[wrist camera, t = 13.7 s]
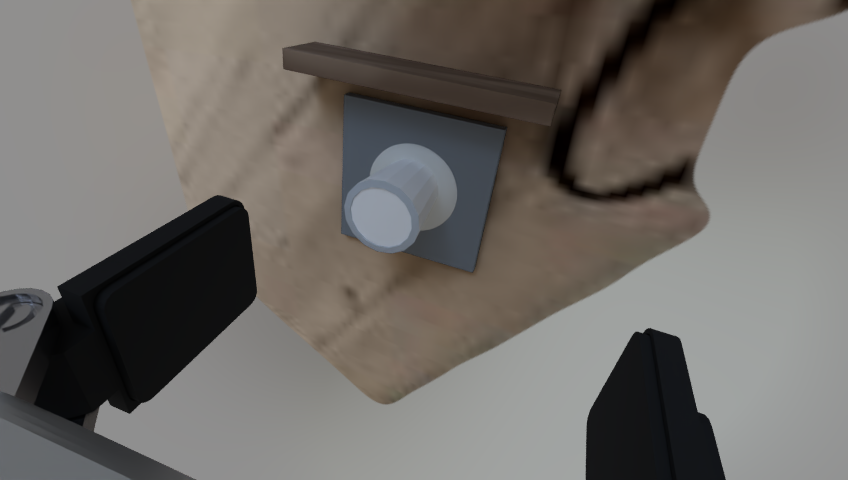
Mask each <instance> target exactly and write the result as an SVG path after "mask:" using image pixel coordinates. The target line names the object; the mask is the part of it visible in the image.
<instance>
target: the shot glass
mask: <svg viewBox="0 0 848 480" xmlns="http://www.w3.org/2000/svg"><path fill="white" fill-rule="evenodd" d="M436 197H437V182H436V180H435V178H434V175H433V173H432V172H431V171H430V170H429V169H428V168H427V167H426V166H425V165H424V164H422V163H420V162H418V161H416V160H411V159H401V160H398V161H395V162H393V163H391V164H390V165H388V166H386V167H384V168H383V169H381V170H379V171H378V172H376V173H374V174H373V175H371V176H369V177H368V178H366V179H364V180H362V181H361V182H359V183H357V184H356V185H355V186H354V187H353V188H352V189H351V190H350V191H349V193H348V194H347V198H346V201H345V205H344V209H345V216H346V221H347V223H348V225H349V227H350V229H351V231H352V233H353V234H354V235H355V236H356V237H357V238H358V239H359V240H360V241H361V242H362V243H363V244H364V245H366V246H368V247H370V248H372V249H374V250H376V251H379V252H385V253H396V252H400V251H404V250H405V249H407V248H408V247H409V246H410V245H412V244H413V243H414V242H415V240H416V238H417V236H418V234H419V232H420V230H421V228H422V226H423V224H424V222H425V220H426V218H427V216H428V214H429V212H430V210H431V208H432V206H433V204H434V202H435V200H436Z"/></svg>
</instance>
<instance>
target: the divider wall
mask: <svg viewBox="0 0 848 480" xmlns="http://www.w3.org/2000/svg"><path fill="white" fill-rule="evenodd" d="M282 49H283V68H284V69H285V70H290V71H295V72H299V73H304V74H309V75H313V76H318V77H323V78H327V79H332V80H337V81H341V82H346V83H351V84H355V85H360V86H365V87H369V88H374V89H378V90H383V91H388V92H392V93H397V94H402V95H406V96H411V97H416V98H420V99H425V100H430V101H434V102H439V103H444V104H448V105H453V106H458V107H462V108H467V109H472V110H476V111H481V112H485V113H490V114H495V115H499V116H504V117H509V118H513V119H518V120H523V121H527V122H532V123H537V124H541V125H546V126H551V123H552V119H553V116H554V113H555V110H556V107H557V103H558V99H559V96H560V92H561V90H558V89H553V88H548V87H543V86H538V85H533V84H528V83H523V82H518V81H513V80H507V79H502V78H497V77H492V76H487V75H482V74H477V73H472V72H467V71H461V70H456V69H451V68H446V67H441V66H436V65H431V64H426V63H421V62H416V61H410V60H405V59H400V58H395V57H390V56H385V55H380V54H375V53H370V52H365V51H359V50H354V49H349V48H344V47H339V46H334V45H329V44H324V43H319V42H312V43H307V44H302V45H297V46H292V47H286V48H282Z"/></svg>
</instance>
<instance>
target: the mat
mask: <svg viewBox="0 0 848 480" xmlns="http://www.w3.org/2000/svg"><path fill="white" fill-rule="evenodd" d="M506 130H507V127H503V126H499V125H494V124H490V123H485V122H481V121H476V120H472V119H467V118H463V117H458V116H454V115H449V114H444V113H440V112H435V111H431V110H426V109H422V108H417V107H413V106H408V105H404V104H399V103H394V102H390V101H385V100H381V99H376V98H372V97H367V96H363V95H358V94H354V93H347V94H345V95H344V126H343V176H342V227H341V234H345V235H348V236H351V237H355V238H357V237H356V236H355V235H354V234H353V233H352V231H351V229H350V227H349V225H348V223H347V221H346V216H345V209H344V205H345V201H346V198H347V194H348V193H349V191H350V190H351V189H352V188H353V187H354V186H355V185H356V184H357V183H359V182H361V181H362V180H364V179H366V178H368V177H369V176H371V175H373V174H374V173H376V172H378V171H379V170H381V169H383V168H384V167H386V166H388V165H390V164H391V163H393V162H395V161H398V160H401V159H411V160H416V161H418V162H420V163H422V164H424V165H425V166H426V167H427V168H428V169H429V170H430V171H431V172H432V173H433V175H434V178H435V180H436V182H437V197H436V200H435V202H434V204H433V206H432V208H431V210H430V212H429V214H428V216H427V218H426V220H425V222H424V224H423V226H422V228H421V230H420V232H419V234H418V236H417V238H416V240H415V242H414V243H413V244H412V245H410V246H409V247H408V248H407V249H405V250H404V251H402V252H405V253H408V254H412V255H415V256H418V257H422V258H425V259H429V260H432V261H435V262H439V263H442V264H445V265H449V266H452V267H455V268H459V269H462V270H465V271H469V272H472V273H473V271H474V269H475V266H476V261H477V257H478V253H479V248H480V244H481V240H482V235H483V231H484V226H485V222H486V218H487V213H488V209H489V205H490V200H491V196H492V191H493V187H494V183H495V178H496V174H497V170H498V165H499V161H500V156H501V152H502V148H503V143H504V139H505V135H506Z"/></svg>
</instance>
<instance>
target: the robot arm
mask: <svg viewBox="0 0 848 480" xmlns="http://www.w3.org/2000/svg"><path fill="white" fill-rule="evenodd" d="M58 290H59V292H60V294H61V296H62V298H60V299H58V300H57V301H55V302H54V301H53V299H52V297H51V296H50V294H48V293H47V292H45V291H43V290H39V289H32V288H26V289H14V290H9V291H3V292H0V480H196V479H193V478H191V477H189V476H187V475H185V474H183V473H181V472H179V471H176V470H174V469H172V468H170V467H168V466H166V465H164V464H161V463H159V462H157V461H155V460H153V459H151V458H149V457H146V456H144V455H142V454H140V453H138V452H136V451H134V450H131V449H129V448H127V447H125V446H123V445H121V444H118V443H116V442H114V441H112V440H110V439H108V438H105V437H103V436H101V435H99V434H97V433H95V432H94V428H95V423H96V419H97V415H98V411H99V406H100V405H102V404H103V403H104V402H105V401H106V400H107V399H108V401H109V403H110V405H111V406H113V407H116V408H118V409H120V410H122V411H125V412H127V413H129V414H130V413H131V412H132V411H133V410H134V409H135V408H136V407H137V406H138V405H140V404H141V403H144V402H147V401H149V400H151V399H152V398H153V397H154V396H155V395H156V394H157V393H158V392H159V391H160V390H161V389H162V388H164V387H165V386H166V385H167V384H168V383H169V382H170V381H171V380H172V379H173V378H174V377H175V376H176V375H177V374H178V373H179V372H180V371H181V370H183V368H185V367H186V366H187V365H188V364H189V363H190V362H191V361H192V360H193V359H194V358H195V357H196V356H197V355H198V354H199V353H200V352H201V351H202V350H203V349H205V348H206V347H207V346H208V345H209V344H210V343H211V342H212V341H213V340H214V339H215V338H216V337H217V336H218V335H219V334H220V333H221V332H222V331H224V330H225V329H226V328H227V327H228V326H229V325H230V324H231V323H232V322H233V321H234V320H235V319H236V318H237V317H238V316H239V315H240V314H241V313H242V312H243V311H244V310H246V309H247V308H248V307H249V306H250V305H251V304H252V302H253V301H254V299H255V297H256V294H257V287H256V278H255V269H254V260H253V251H252V242H251V233H250V225H249V216H248V212H247V210H245V209H244V206H243V204H242V203H241V202H239V201H237V200H234V199H230V198H227V197H224V196H220V195H217V196H214V197H212V198H210V199H208V200H207V201H205V202H203V203H202V204H200V205H198V206H196V207H195V208H193V209H191V210H189V211H188V212H186V213H184V214H182V215H181V216H179V217H177V218H176V219H174V220H172V221H170V222H169V223H167V224H165V225H163V226H162V227H160V228H158V229H156V230H155V231H153V232H151V233H150V234H148V235H146V236H144V237H143V238H141V239H139V240H137V241H136V242H134V243H132V244H130V245H129V246H127V247H125V248H123V249H122V250H120V251H118V252H117V253H115V254H113V255H111V256H110V257H108V258H106V259H105V260H103V261H101V262H99V263H98V264H96V265H94V266H92V267H91V268H89V269H87V270H86V271H84V272H82V273H81V274H78V275H77V276H75V277H73V278H71V279H70V280H68V281H66V282H65V283H63V284H61V285H59V286H58ZM586 437H587V439H586V480H726V479H725V475H724V471H723V467H722V464H721V460H720V456H719V452H718V448H717V444H716V440H715V436H714V433H713V429H712V426H711V423H710V421H709V419H708V418H707V417H706V415H704V414H701V413H698V412H697V408H696V403H695V399H694V395H693V391H692V386H691V382H690V378H689V373H688V369H687V365H686V361H685V356H684V352H683V348H682V343H681V341H680V339H679V338H678V337H677V336H673V335H670V334H667V333H663V332H660V331H657V330H654V329H651V328H648V329H646V330H645V332H644V333H640V332H635V333H634V334H633V336H632V337H631V339H630V341H629V342H628V344H627V346H626V348H625V349H624V351H623V353H622V355H621V356H620V358H619V360H618V362H617V363H616V365H615V367H614V369H613V371H612V372H611V374H610V376H609V378H608V379H607V381H606V383H605V385H604V386H603V388H602V390H601V392H600V394H599V395H598V397H597V399H596V401H595V402H594V404H593V406H592V408H591V410H590V412H589V415H588V420H587V436H586Z"/></svg>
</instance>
